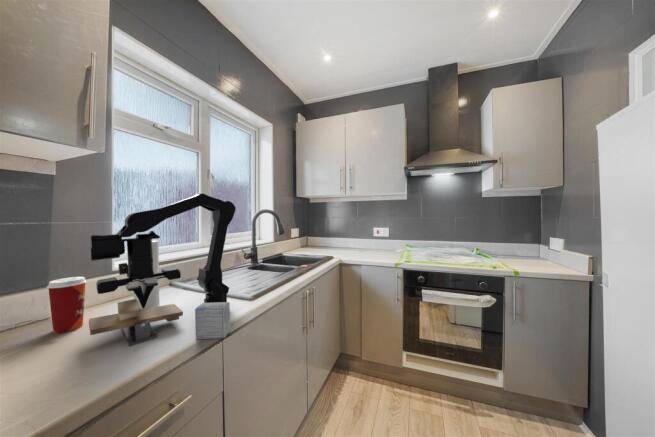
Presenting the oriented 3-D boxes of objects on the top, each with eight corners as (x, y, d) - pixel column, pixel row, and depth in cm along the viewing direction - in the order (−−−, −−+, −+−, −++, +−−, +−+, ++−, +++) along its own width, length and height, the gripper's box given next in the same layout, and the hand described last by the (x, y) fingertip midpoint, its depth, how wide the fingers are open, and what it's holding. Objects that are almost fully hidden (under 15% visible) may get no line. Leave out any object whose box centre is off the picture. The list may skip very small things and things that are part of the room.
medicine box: (230, 331, 68) (230, 301, 68) (224, 339, 64) (223, 307, 64) (203, 332, 68) (202, 302, 68) (195, 340, 64) (194, 308, 64)
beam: (173, 311, 79) (173, 303, 79) (182, 320, 72) (183, 311, 72) (88, 328, 64) (89, 318, 64) (89, 341, 57) (90, 330, 57)
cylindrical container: (164, 307, 87) (163, 240, 87) (147, 315, 80) (146, 242, 80) (146, 307, 88) (145, 240, 88) (128, 315, 81) (127, 242, 81)
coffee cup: (91, 326, 73) (90, 278, 73) (51, 338, 66) (50, 284, 66) (82, 320, 77) (82, 274, 77) (44, 330, 70) (43, 280, 70)
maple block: (136, 311, 69) (135, 298, 69) (138, 315, 67) (137, 301, 66) (118, 316, 66) (117, 302, 66) (120, 320, 64) (119, 306, 64)
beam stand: (146, 321, 75) (146, 306, 75) (157, 337, 65) (157, 320, 65) (121, 328, 71) (121, 312, 71) (129, 346, 61) (129, 328, 61)
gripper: (170, 248, 81) (172, 293, 81) (93, 257, 67) (97, 311, 68) (179, 251, 73) (182, 301, 74) (96, 262, 60) (99, 322, 60)
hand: (143, 308), depth 69 cm, fingers closed
